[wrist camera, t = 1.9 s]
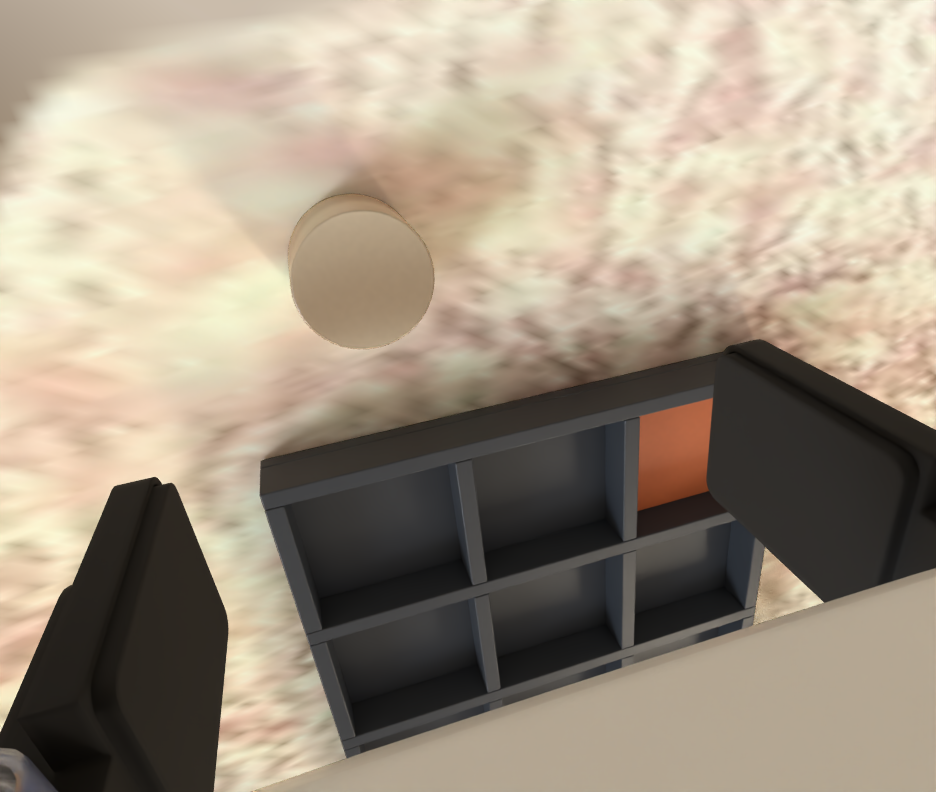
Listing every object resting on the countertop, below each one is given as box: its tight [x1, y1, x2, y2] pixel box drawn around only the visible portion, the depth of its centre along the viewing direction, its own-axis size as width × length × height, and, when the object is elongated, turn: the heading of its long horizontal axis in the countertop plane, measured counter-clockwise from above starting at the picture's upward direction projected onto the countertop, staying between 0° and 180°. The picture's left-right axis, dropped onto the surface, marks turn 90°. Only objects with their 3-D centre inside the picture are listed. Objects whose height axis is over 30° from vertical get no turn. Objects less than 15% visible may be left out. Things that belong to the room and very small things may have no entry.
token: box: [288, 194, 434, 349], centre depth 20 cm, size 4×4×3 cm
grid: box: [260, 352, 765, 758], centre depth 30 cm, size 22×22×2 cm
